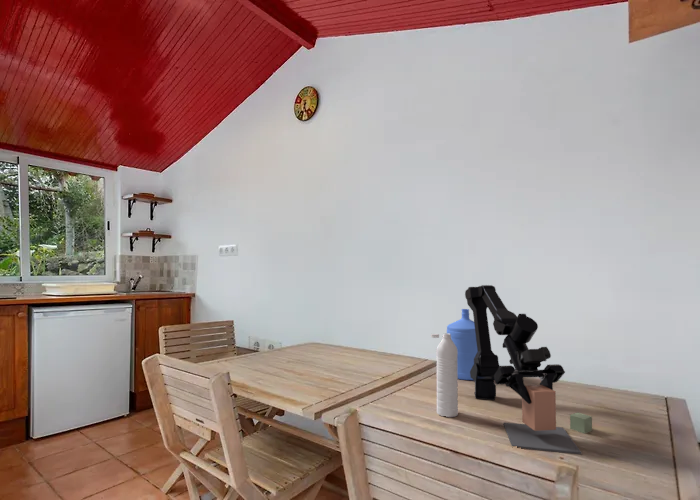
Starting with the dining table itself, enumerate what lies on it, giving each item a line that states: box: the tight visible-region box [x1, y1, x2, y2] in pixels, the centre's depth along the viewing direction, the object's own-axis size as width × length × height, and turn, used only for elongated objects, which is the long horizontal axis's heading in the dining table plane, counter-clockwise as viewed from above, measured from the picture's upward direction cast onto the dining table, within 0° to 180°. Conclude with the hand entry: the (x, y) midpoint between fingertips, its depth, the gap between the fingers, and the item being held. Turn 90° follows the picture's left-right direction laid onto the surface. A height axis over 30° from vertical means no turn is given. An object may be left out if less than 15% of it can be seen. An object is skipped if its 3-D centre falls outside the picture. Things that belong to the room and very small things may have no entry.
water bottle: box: [430, 332, 459, 418], centre depth 128 cm, size 9×6×25 cm
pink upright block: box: [521, 384, 557, 431], centre depth 110 cm, size 6×6×10 cm
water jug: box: [446, 308, 477, 381], centre depth 174 cm, size 16×16×28 cm
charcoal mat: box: [503, 421, 582, 455], centre depth 110 cm, size 16×16×1 cm
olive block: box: [569, 412, 593, 435], centre depth 116 cm, size 4×4×4 cm
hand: (541, 402), depth 109 cm, fingers closed on pink upright block, 6 cm apart
